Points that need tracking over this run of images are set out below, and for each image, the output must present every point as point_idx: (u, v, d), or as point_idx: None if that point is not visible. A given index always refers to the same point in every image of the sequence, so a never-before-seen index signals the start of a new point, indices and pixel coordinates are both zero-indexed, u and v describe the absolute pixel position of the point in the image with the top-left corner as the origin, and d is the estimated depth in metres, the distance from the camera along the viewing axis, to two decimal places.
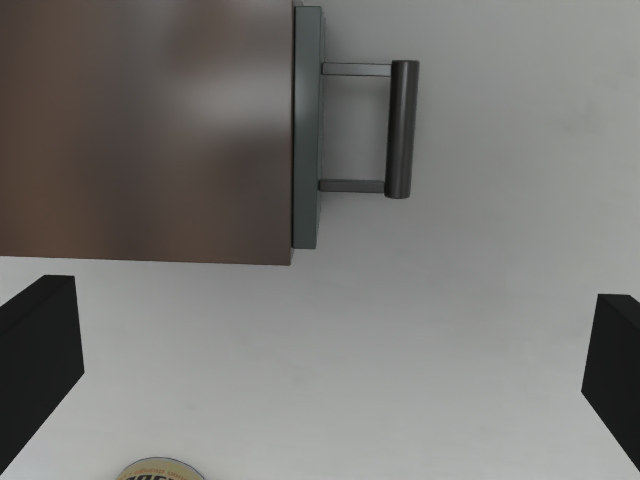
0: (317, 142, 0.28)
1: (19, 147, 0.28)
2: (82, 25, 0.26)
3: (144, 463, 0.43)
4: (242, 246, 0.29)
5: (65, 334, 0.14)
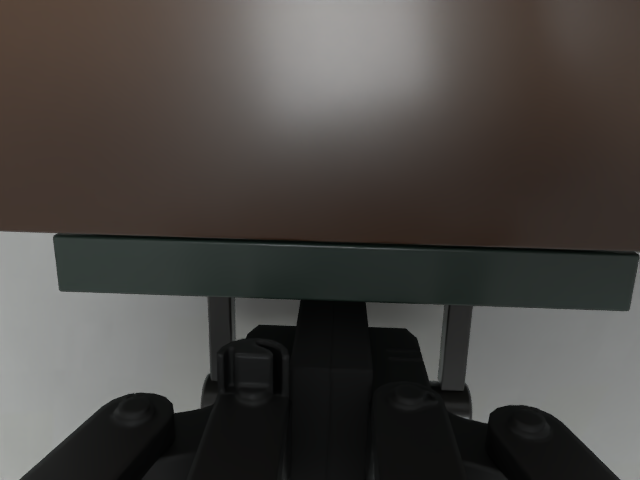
0: (322, 298, 0.12)
1: None
2: None
3: None
4: (27, 99, 0.10)
5: None
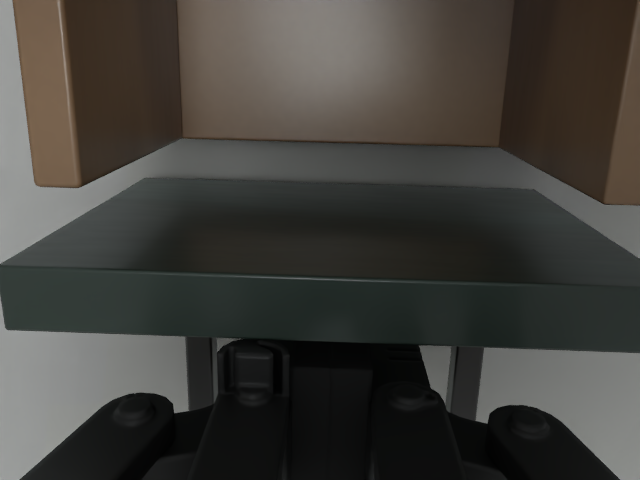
0: (314, 338, 0.10)
1: None
2: None
3: None
4: None
5: None
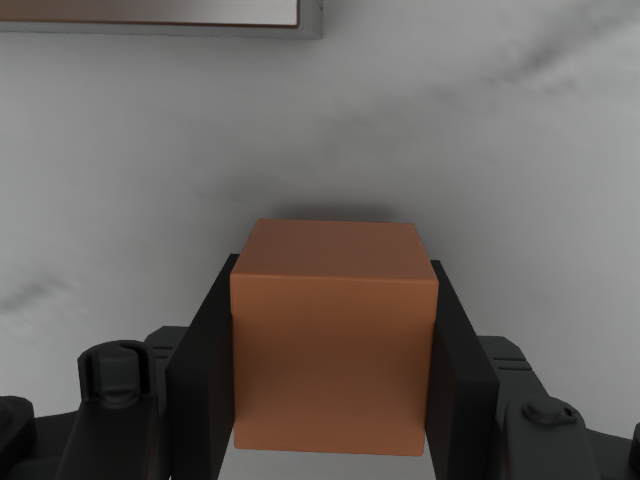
0: None
1: None
2: None
3: None
4: None
5: None
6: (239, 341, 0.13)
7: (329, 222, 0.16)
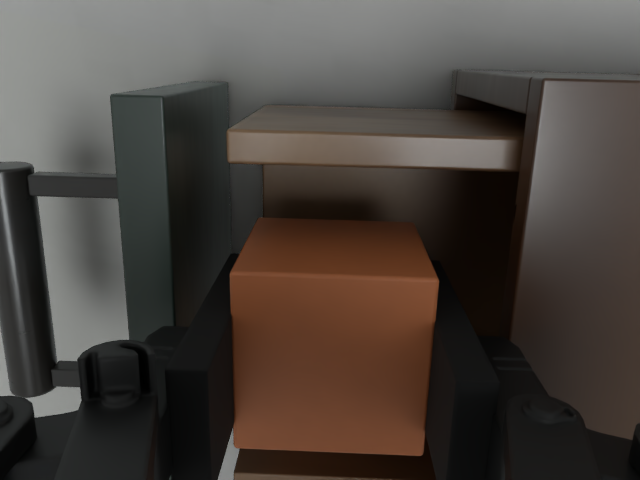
0: (129, 317, 0.14)
1: None
2: None
3: None
4: None
5: None
6: (239, 340, 0.13)
7: (329, 221, 0.16)
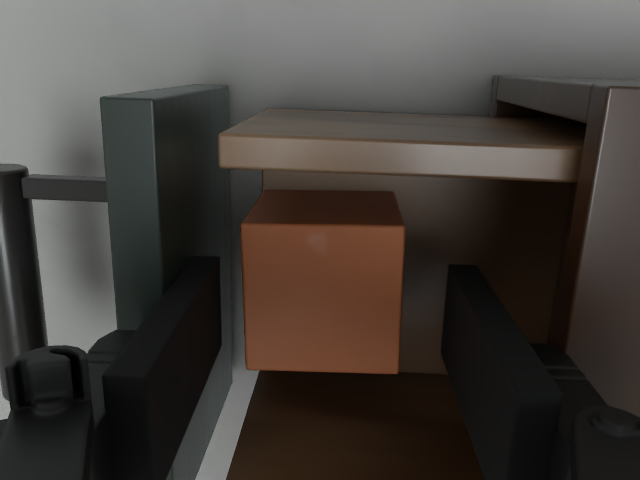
0: (118, 324, 0.14)
1: None
2: None
3: None
4: None
5: (215, 308, 0.16)
6: (248, 279, 0.16)
7: (323, 191, 0.19)
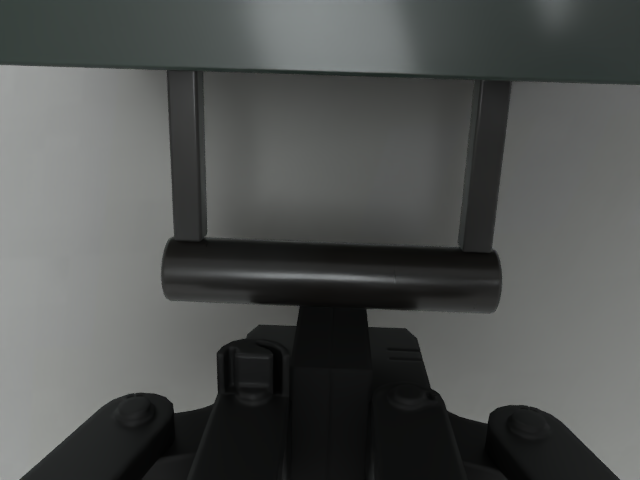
0: (314, 71, 0.09)
1: None
2: None
3: None
4: None
5: None
6: None
7: None
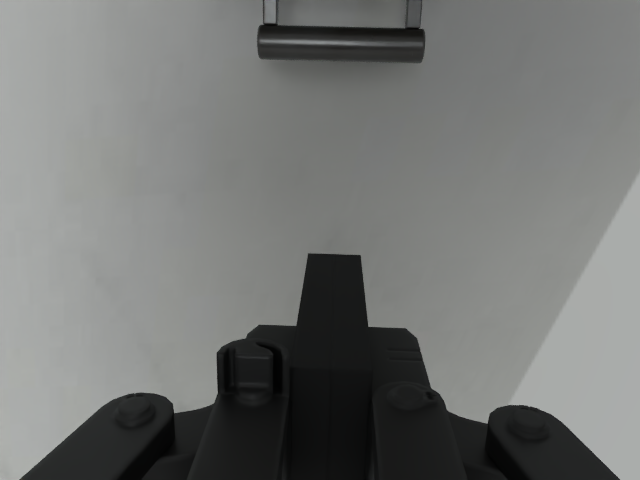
0: None
1: None
2: None
3: None
4: None
5: None
6: None
7: None
